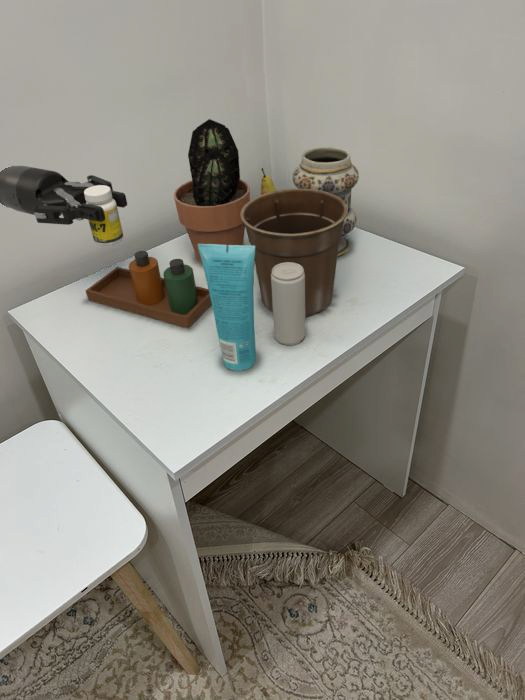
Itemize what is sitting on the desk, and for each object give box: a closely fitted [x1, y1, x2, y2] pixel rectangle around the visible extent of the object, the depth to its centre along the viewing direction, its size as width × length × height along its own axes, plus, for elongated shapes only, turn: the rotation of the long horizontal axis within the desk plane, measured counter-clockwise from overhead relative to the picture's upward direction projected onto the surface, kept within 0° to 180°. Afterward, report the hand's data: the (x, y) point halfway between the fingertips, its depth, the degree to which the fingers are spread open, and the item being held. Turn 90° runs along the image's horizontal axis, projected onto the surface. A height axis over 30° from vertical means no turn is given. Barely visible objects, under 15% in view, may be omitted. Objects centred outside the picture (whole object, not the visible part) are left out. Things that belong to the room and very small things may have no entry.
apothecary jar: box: [291, 146, 360, 258], centre depth 100 cm, size 12×12×18 cm
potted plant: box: [173, 118, 251, 265], centre depth 98 cm, size 14×14×25 cm
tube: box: [198, 244, 257, 372], centre depth 75 cm, size 7×5×19 cm, turn 85°
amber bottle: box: [128, 250, 165, 305], centre depth 92 cm, size 5×5×9 cm
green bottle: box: [162, 258, 198, 315], centre depth 89 cm, size 5×5×9 cm
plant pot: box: [241, 188, 348, 317], centre depth 88 cm, size 16×16×16 cm
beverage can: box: [271, 262, 306, 346], centre depth 81 cm, size 5×5×12 cm
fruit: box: [260, 167, 277, 195], centre depth 113 cm, size 6×6×12 cm
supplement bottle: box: [84, 185, 124, 247], centre depth 86 cm, size 5×5×8 cm
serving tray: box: [85, 266, 212, 330], centre depth 94 cm, size 21×9×2 cm, turn 63°
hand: (113, 207), depth 84 cm, fingers closed on supplement bottle, 4 cm apart
